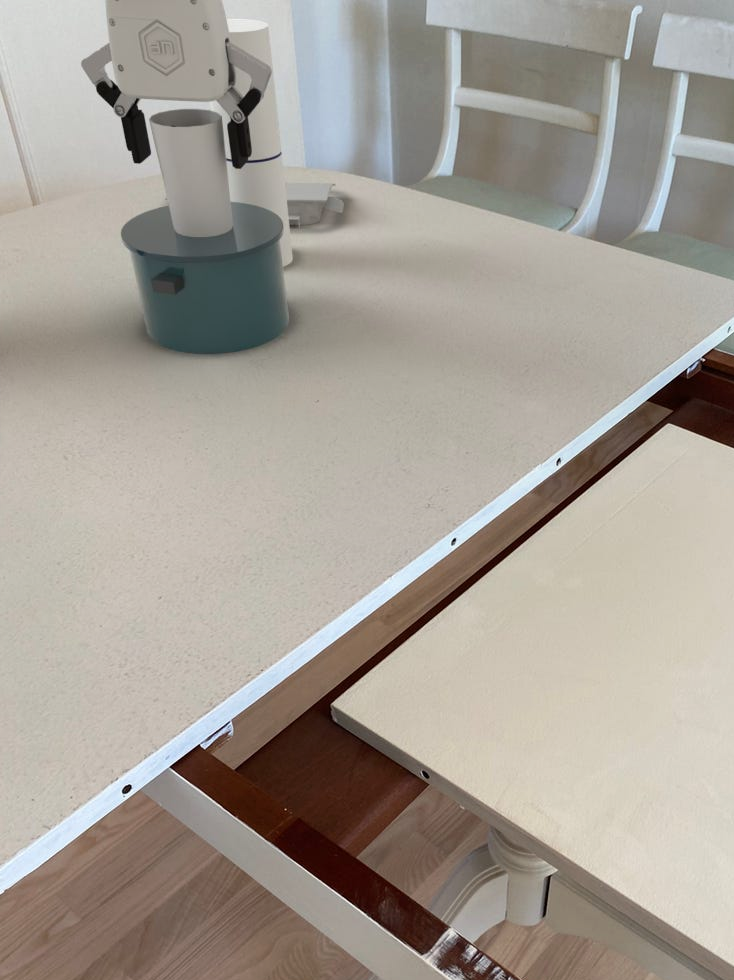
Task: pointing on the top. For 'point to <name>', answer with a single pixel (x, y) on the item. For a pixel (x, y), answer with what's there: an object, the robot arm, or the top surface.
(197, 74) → the robot arm
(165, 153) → the white cup
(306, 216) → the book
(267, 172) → the cylindrical container
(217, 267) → the pot
